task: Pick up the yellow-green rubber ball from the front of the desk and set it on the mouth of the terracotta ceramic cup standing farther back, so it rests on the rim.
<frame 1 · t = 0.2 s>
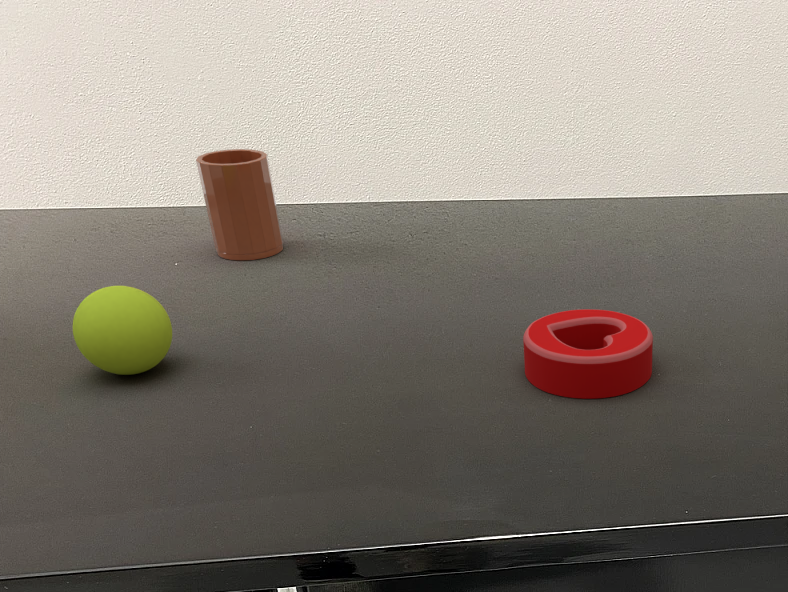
decorative ornament: (588, 372, 73), on the table
cup: (250, 250, 95), on the table
ball: (134, 370, 72), on the table
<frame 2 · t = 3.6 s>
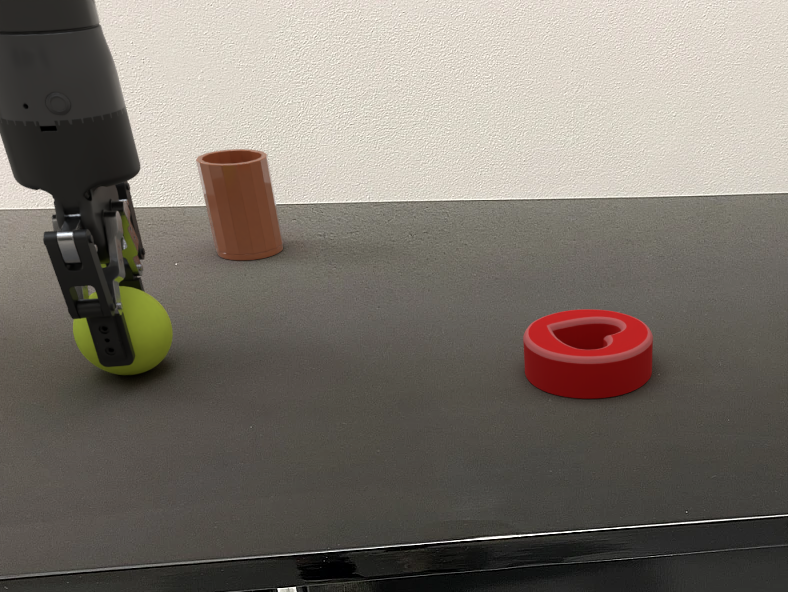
hand: (128, 344, 70), 2 cm above the table, tool pointing down, fingers closed on ball, 6 cm apart
ball: (135, 370, 72), on the table, touching gripper
everything else where it was.
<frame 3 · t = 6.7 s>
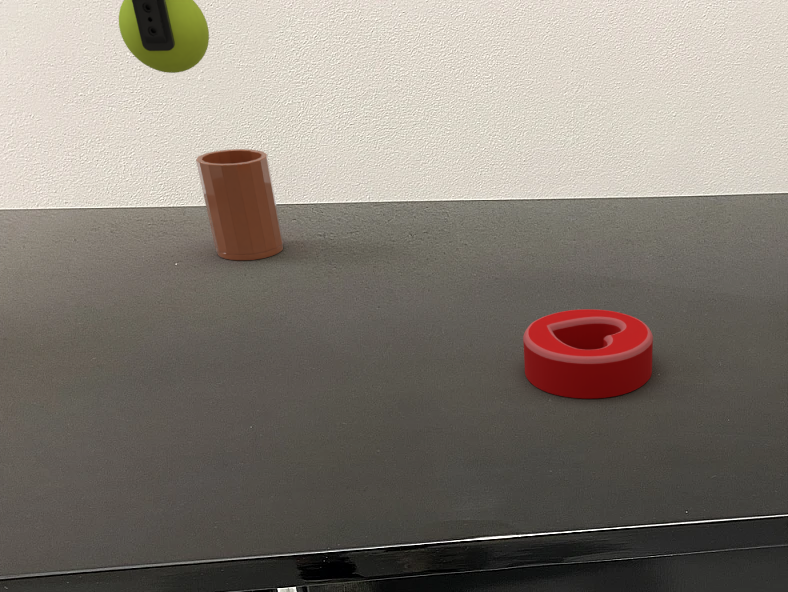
hand: (167, 42, 76), 20 cm above the table, tool pointing down, fingers closed on ball, 6 cm apart
ball: (174, 72, 78), point 18 cm above the table, touching gripper
everything else where it was.
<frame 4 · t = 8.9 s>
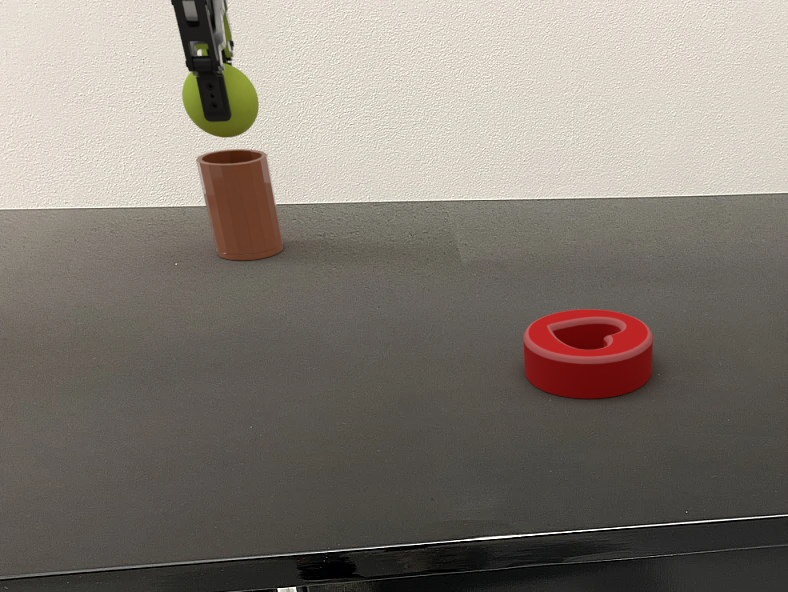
hand: (223, 112, 88), 13 cm above the table, tool pointing down, fingers closed on ball, 6 cm apart
ball: (228, 136, 89), point 11 cm above the table, touching gripper
everything else where it was.
when the fingers open (10 cm above the table, at t = 10.3 s): ball stays where it is, resting on cup.
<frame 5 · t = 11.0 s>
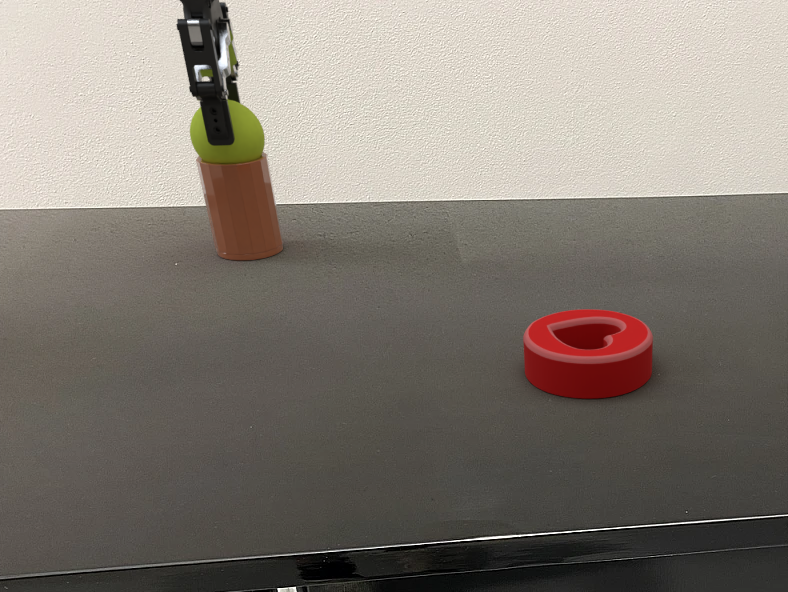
hand: (227, 134, 89), 11 cm above the table, tool pointing down, fingers open, 8 cm apart
ball: (235, 171, 91), point 8 cm above the table, touching cup
everything else where it was.
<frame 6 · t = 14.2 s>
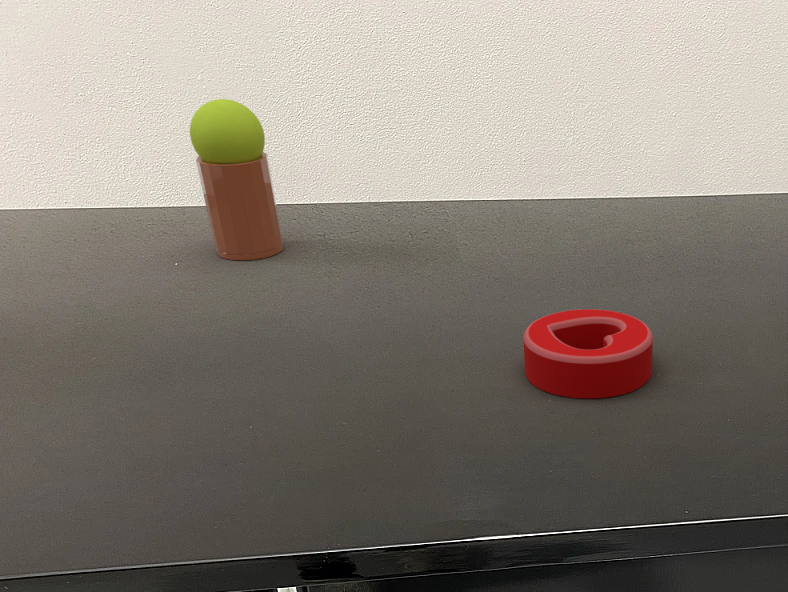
nothing on the table moved.
at the end: ball 0.0 cm off-centre in the cup, point 7.7 cm above the cup's base; the gripper is holding nothing; ball touching cup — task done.
